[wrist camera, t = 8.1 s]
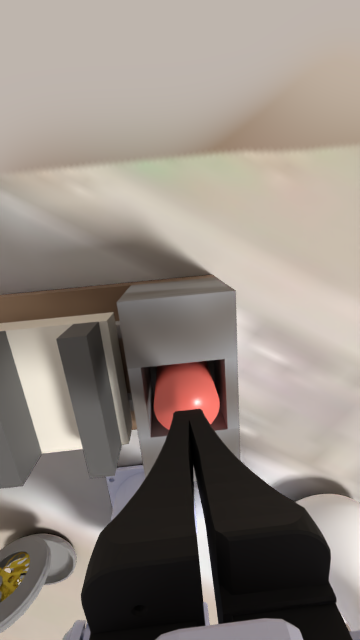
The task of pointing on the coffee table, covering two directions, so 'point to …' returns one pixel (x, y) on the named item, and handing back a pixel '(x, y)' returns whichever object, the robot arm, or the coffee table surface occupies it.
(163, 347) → the rail board
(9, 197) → the coffee table surface
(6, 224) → the coffee table surface
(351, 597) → the flower in vase
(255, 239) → the coffee table surface
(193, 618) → the robot arm
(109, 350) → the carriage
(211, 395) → the button
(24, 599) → the pocket watch
